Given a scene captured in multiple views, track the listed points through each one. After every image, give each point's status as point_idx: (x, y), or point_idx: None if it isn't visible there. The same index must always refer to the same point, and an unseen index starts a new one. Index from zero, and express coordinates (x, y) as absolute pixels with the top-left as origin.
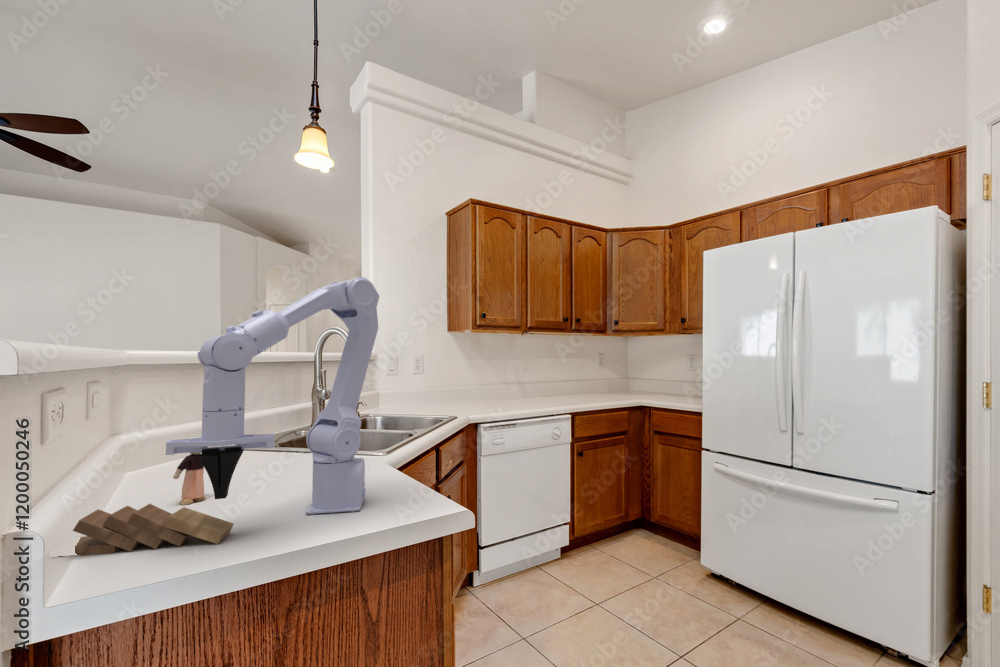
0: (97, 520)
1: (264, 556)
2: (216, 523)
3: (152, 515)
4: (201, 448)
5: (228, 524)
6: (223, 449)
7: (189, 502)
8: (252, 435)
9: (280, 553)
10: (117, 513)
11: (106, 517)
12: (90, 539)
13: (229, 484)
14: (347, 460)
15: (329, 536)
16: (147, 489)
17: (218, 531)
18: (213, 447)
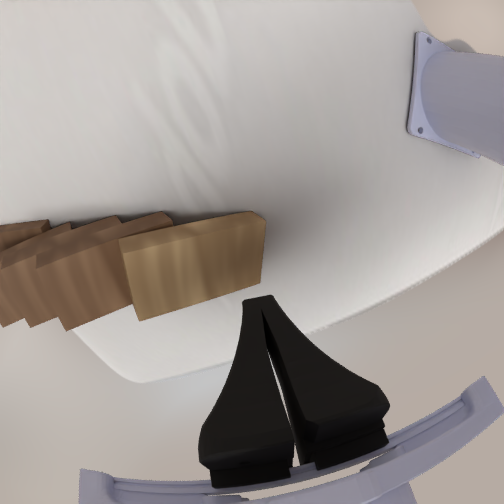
0: (8, 304)
1: (336, 319)
2: (233, 256)
3: (86, 298)
4: (215, 494)
5: (257, 237)
6: (306, 470)
7: None
8: (448, 452)
9: (356, 312)
10: (26, 310)
11: (1, 283)
12: (1, 251)
13: (285, 314)
14: None
15: (420, 263)
16: None
17: (251, 283)
18: (263, 488)
